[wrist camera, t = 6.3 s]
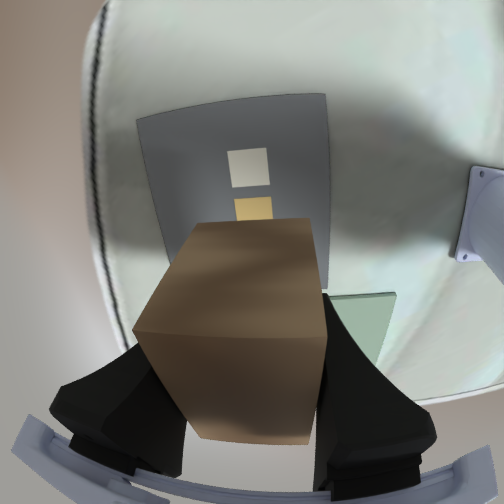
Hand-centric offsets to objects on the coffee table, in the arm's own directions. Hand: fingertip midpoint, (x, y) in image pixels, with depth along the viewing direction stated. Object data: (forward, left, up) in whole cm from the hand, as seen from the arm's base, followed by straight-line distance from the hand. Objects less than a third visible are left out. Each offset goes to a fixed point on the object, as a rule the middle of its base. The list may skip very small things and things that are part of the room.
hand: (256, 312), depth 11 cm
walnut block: (0, 0, -1) cm, 1 cm away
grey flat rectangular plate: (+2, -2, -9) cm, 9 cm away
